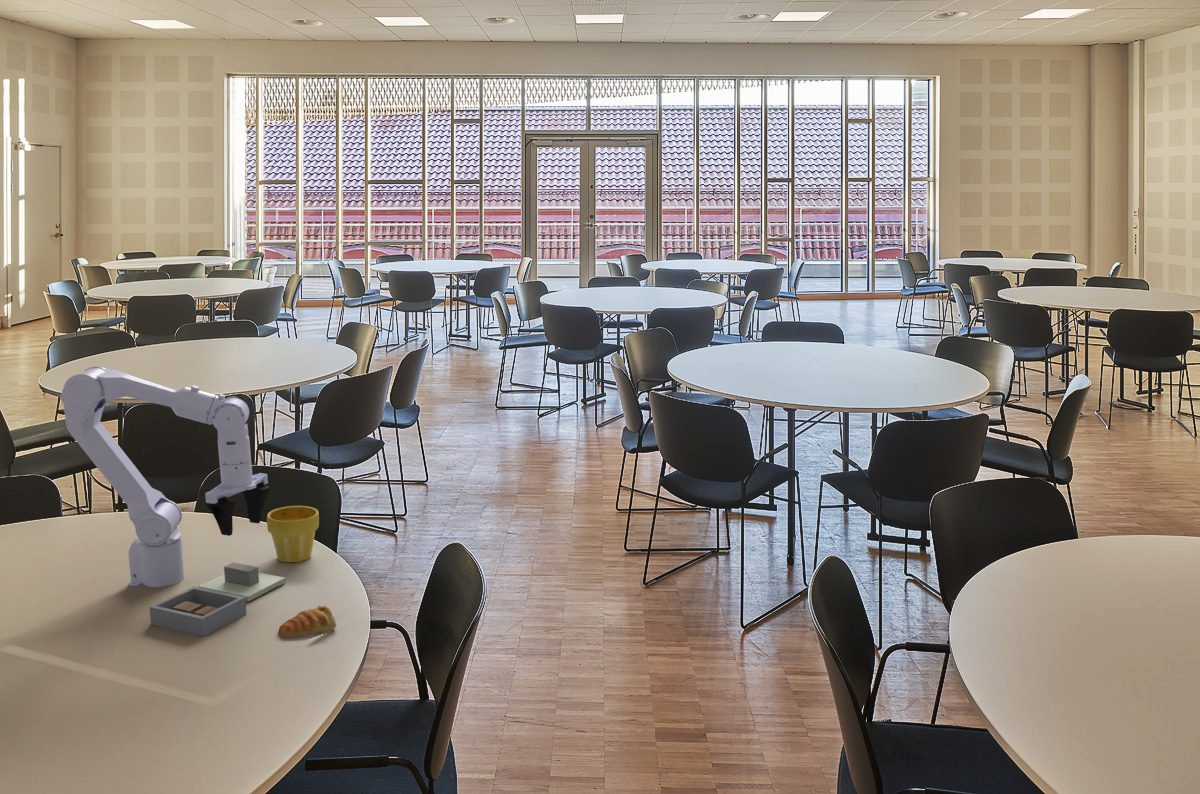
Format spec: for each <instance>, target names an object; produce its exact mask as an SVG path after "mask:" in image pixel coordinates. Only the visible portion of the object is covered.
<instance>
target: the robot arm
mask: <svg viewBox="0 0 1200 794" xmlns="http://www.w3.org/2000/svg"><path fill="white" fill-rule="evenodd" d="M200 389H201V387H200V386H197V385H192V386H191V387H188V386H185V387H182V388H180V389H178V390H177V389H173V388H170V387H168V386H165V385H160V384H159V383H155V382H152V381H148V380H146V379H144V378H143V379H142V378H140V377H137V376H133V375H132V374H129V373H125V372H122V371H120V370H117V369H107V368H105V367H101V366H91V367H88V368H87V369H84V371H82V372H80V373H77V374H75V375H74V374H73V375H71V376H70V377H69V378H67V380H66V381H65V383H64V385H63V388H62V391H61V393H60V397H59V399H60V400H61V403H62V404H63V410H64V419H65V426H66V429H67V431H68V432H69V434H70V436H72V437H73V439H74V441H76V443H77V444H78V445H79V446H80V448H81V449H82V450H83V451H84V453H85V454H86V456H87V457H88V458H89V459H90V460H91V462H92V463H93V464H94V465H95V466H96V468H97V469H98V470H99V472H100V473H101V474H102V475H103V477H104V478H105V479H106V480H107V482H108V483H109V484H110V485H111V487H112V488H113V489H114V490H115V492H116V493H117V494H118V495H119V497H120V498H121V499H122V500H123V502H124V503H125V505H127V511H128V517H129V519H130V521H131V522H132V524H133V525H134V528H135V534H136V537H137V538H135V539H134V540H133V541H132V543H131V545H130V547H129V549H128V563H129V564H128V565H129V573H130V574H129V575H130V581H129V582H127V586H128V585H130V586H129V587H133V586H134V587H136V586H138V585H140V584H143V585H145V586H146V587H151V588H160V587H161V588H162V587H169V586H172V585H177V584H179V583H180V582H182V581H183V580H184V579H185V570H184V560H183V547H182V546H183V544H182V534H181V532H180V531H179V529H178V526H179V525H180V523H181V522H182V517H183V513H182V510H181V508H180V506H179V505H178V504H177V503H176V502H175V501H172V500H170V499H168V498H167V497H166V496H165V495H164V494H163V492H162V491H160V490H158V489H155V488H153V487H152V486H151V485H150V484H149V482H148V481H147V480H146V479H145V477H144V476H143V475H142V473H141V472H140V471H139V469H138V468H137V467H136V465H135V463H133V461H132V460H131V459H130V458H129V457H128V455H127V454H126V453H125V452H124V450H123V449H122V448H121V447H120V445H119V444H118V442H117V441H116V440H115V439H114V437H113V436H112V435H111V434H110V432H109V431H108V430H107V429H106V428H105V426H104V424H103V423H102V422H101V419H102V416H103V411H104V410H105V409H104V407H105V405H106V403H107V402H109V401H113V400H117V399H121V398H125V397H126V398H131V399H135V400H139V401H144V402H148V403H153V404H157V405H160V406H164V407H169V408H171V410H172V411H173V413H174V414H175V415H176V416H178V417H181V418H184V419H188V420H192V421H194V422H198V423H202V424H206V425H209V426H211V425H213V427H214V428H215V429H216V430H217V431H216V432H217V447H218V448H217V449H218V450H217V451H218V460H219V470H220V471H219V472H220V480H221V483H220V484H218V485H217V486H215V487H214V488H212V489H211V490H210V491H207V492H205V494H204V495H205V507H207V509H208V510H209V511H210V512H211V514H212V516H213V517H214V519H215V521H216V523H217V525H218V528H219V531H220V534H221V535H223V536H232V535H233V531H234V530H233V529H234V528H233V527H234V526H233V524H234V523H233V515H234V510H235V506H236V502H235V501H231V500H230V501H229V499H227V498H229V497H232V496H235V495H237V494H239V493H242V494H243V496H244V500H245V503H246V510H247V515H248V521H249V523H252V524H260V523H261V519H262V515H263V514H262V513H263V510H264V506H265V502H266V499H267V497H268V495H269V493H270V491H271V488H270V486H269V485H267V484H269V480H268V474H267V473H262V472H259V473H256V474H253V468H252V467H253V466H252V455H251V444H250V436H249V428H248V423H247V421H248V419H249V417H250V409H249V406H248V404H247V403H246V402H245V401H244V400H242V399H240V398H239V397H237V396H229V397H226V395H225V394H221V393H220V394H219V395H216V394H213V393H210V392H206V391H204V390H200Z"/></svg>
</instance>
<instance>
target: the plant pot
mask: <svg viewBox="0 0 1200 794" xmlns="http://www.w3.org/2000/svg"><path fill="white" fill-rule="evenodd" d="M319 526H320V515H319V509H317V508H315V507H311V506H306V505H289V506H288V505H287V506H284V507H279V508H275V509H272V510H271V511H269V512H267V515H266V527H267V531H268V533H269V534H271V537H272V541H273V545H274V549H275V553H276V557H277V559H278V560H279V562H282V563H286V562H288V563H289V562H290V563H289V564H292V563H291V562H296V563H299V562H298V561H302V562H304V561H303V560H305V561H307V560H309V559H310V558H311V557H312V552H313V547H314V540H315V535H316V531H317V530H318V529H319ZM310 556H311V557H310ZM309 557H310V558H309ZM308 558H309V559H308ZM306 559H307V560H306ZM288 563H287V564H288Z"/></svg>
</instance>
